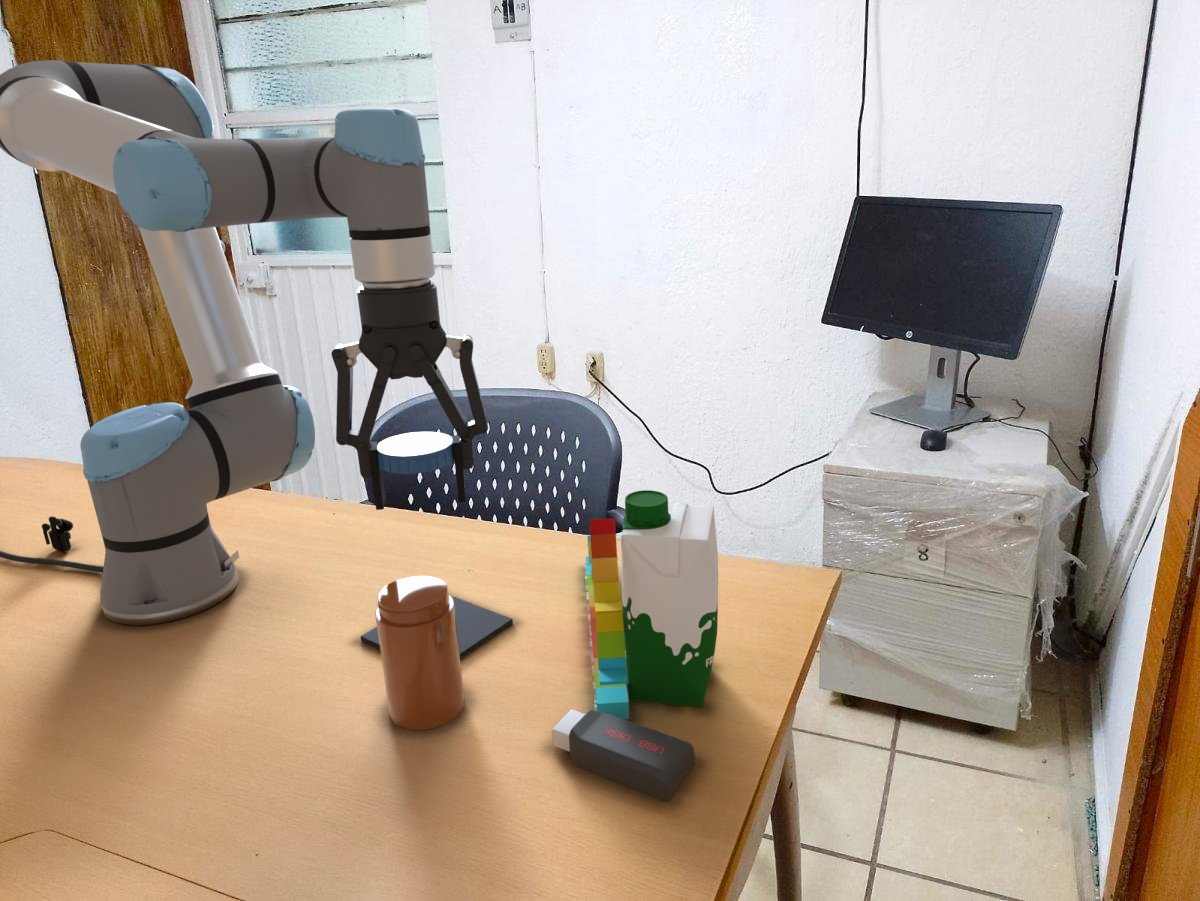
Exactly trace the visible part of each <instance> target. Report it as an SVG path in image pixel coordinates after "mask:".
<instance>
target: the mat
mask: <svg viewBox="0 0 1200 901" xmlns="http://www.w3.org/2000/svg"><path fill="white" fill-rule="evenodd" d="M449 595H450V594H449ZM450 596H451V597H452V598H453V600H454V608H455V617H456V626H457V636H458V645H459V655H460V660H461V659H462V658H464V657H465V656H466V655H468V654H470V653H471V652H472V651H474V650H475V649H477V648H478V647H480V646H481V645H483V644H485V643H486V642H487V641H489V640H490V639H491V638H493V637H495V636H497V635H498V634H499V633H500V632H502V631H503V630H505V629H506V628H508V627H509V626H511V625H512V624H513V623H514V620H513V618H512V617H508V616H506V615H503V614H501V613H498V612H495V611H494V610H490V609H487V608H486V607H485V608H484V607H482V606H480V605H478V604H474V603H471V602H469V601H467V600H464V599H461V598H459V597H456V596H453V595H450ZM360 641H361V642H363V643H365V644H367V645H369V646H372V647H374V648H377V649H378V650H380V644H379V637H378V630H377V626H375V627H374V628H372V629H371V630H369V631H367V632H365V633H363V634H362V635H360Z"/></svg>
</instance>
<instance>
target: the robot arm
mask: <svg viewBox="0 0 1200 901" xmlns="http://www.w3.org/2000/svg"><path fill="white" fill-rule="evenodd" d="M419 125H420V124H419V120H418V118H417V117H416V115H415V114H414V113H413V112H412V111H411V110H408V109H404V108H393V107H391V108H390V107H386V108H385V107H381V108H380V107H379V108H378V107H377V108H376V107H375V108H374V107H373V108H354V109H353V108H352V109H346V110H341V111H339V112H338V113H337V114H336V115H335V118H334V135H333V136H323V137H319V136H318V137H271V138H269V137H265V138H264V137H263V138H215V137H214V135H213V132H214V131H215V128H214V122H213V119H212V116H211V112H210V109H209V108H208V106H207V103H206V101H205V99H204V97H203V95H202V94H201V92H200V91H199V89H198V88H197V87H196V85H195V84H194V83H193V82H192V81H191V80H190V79H189V78H188V77H187V76H185V75H184V74H181V73H180V72H179V71H177V70H175V69H172V68H170V67H169V68H168V67H162V66H161V67H160V66H152V65H150V64H147V63H135V64H122V63H121V64H120V63H103V62H102V63H100V62H99V63H98V62H84V61H83V62H82V61H79V62H78V61H63V60H57V59H56V60H53V59H49V60H33V61H29V62H24V63H21V64H18V65H15V66H13V67H11V68H9V69H6V70H4V72H1V73H0V149H1V150H2V151H3V152H4V153H6V154H7V155H8V156H10V157H11V158H13V159H15V160H16V161H18V162H20V163H22V164H24V165H26V166H29V167H30V168H34V169H36V170H39V171H43V172H52V173H53V172H55V173H56V172H65V173H68V174H70V175H72V176H74V177H76V178H79V179H81V180H83V181H86V182H88V183H90V184H93V185H96V187H99V188H102V189H105V190H106V191H108V192H111V193H113V194H116V196H117V198H118V201H119V204H120V206H121V208H122V210H123V211H124V212H125V214H127V215H129V216H128V217H129V218H130V220H131V222H132V223H133V224H134V225H135V226H137V228H138V230H139V233H140V236H141V239H142V242H143V244H144V247H145V250H146V253H147V255H148V258H149V261H150V264H151V266H152V270H153V272H154V275H155V277H156V281H157V283H158V286H159V289H160V292H161V295H162V298H163V300H164V303H165V306H166V308H167V309H166V310H167V312H168V315H169V317H170V320H171V323H172V326H173V328H174V331H175V334H176V336H177V340H178V342H179V345H180V348H181V351H182V354H183V356H184V360H185V362H186V365H187V368H188V370H189V372H190V376H191V378H192V383H191V386H190V388H189V390H188V391H187V394H186V395H185V402H186V403H187V406H188V409H189V410H187V409H186V407H185V406H183V405H182V404H180V403H177V402H168V401H167V402H154V403H151V404H149V405H145V404H143V405H139V406H135V407H131V408H127V409H125V410H121V411H118V412H116V413H114V414H111V415H109V416H107V417H105V418H103V419H101V420H99V421H98V422H97V421H96V423H94V424H93V425H91V426H90V428H88V429H87V430H86V432H84V434H83V435H82V437H81V439H80V444H79V447H80V453H81V459H82V466H83V468H82V469H83V470H82V472H83V476H84V478H85V480H86V481H87V484H88V485H87V486H88V488H89V492H90V496H91V499H92V503H93V507H94V510H95V515H96V519H97V522H98V526H99V530H100V534H101V537H102V541H103V546H104V549H105V552H104V554H105V555H104V561H103V565H97V564H89V563H84V562H83V563H82V562H78V561H72V560H71V561H70V560H64V559H63V560H62V559H54V558H45V557H30V556H22V555H17V554H13V553H10V552H6V551H3V550H0V558H2V559H5V560H10V561H14V562H19V563H24V564H25V563H26V564H32V565H33V564H35V565H47V566H58V567H64V568H72V569H76V570H77V569H78V570H84V571H90V572H97V573H102V578H101V585H100V592H99V595H100V605H101V609H102V611H103V614H104V616H105V617H106V619H109V620H110V621H112V622H114V623H118V624H122V625H130V626H141V625H142V626H145V625H154V624H155V625H156V624H162V623H168V622H172V621H177V620H180V619H183V618H187V617H189V616H192V615H195V614H198V613H200V612H203V611H205V610H207V609H209V608H211V607H213V606H214V605H216V604H218V603H220V602H221V601H223V600H224V599H226V598H227V597H228V596H229V595H230V594H231V593H232V592H233V591H234V590H235V588H236V587H237V584H238V582H239V577H238V572H237V568H236V565H235V562H236V561H238V559H240V554H239V550H235V551H234V553H232V554H231V555H230V554H229V552H228V551H227V550H226V547H225V546H224V544H223V543H222V542H221V540H220V539H219V537H218V535H217V534H216V532H215V531H214V528H213V527H212V525H211V521H210V516H209V511H208V505H207V504H209V503H210V502H213V501H216V500H220V499H223V498H226V497H229V496H232V495H235V494H239V493H241V492H244V491H248V490H250V489H252V488H256V487H259V486H262V485H265V484H268V483H272V482H276V481H277V482H278V481H280V480H282V479H283V478H284V477H287V476H289V475H290V476H291V475H292V474H295V473H297V472H299V471H301V470H302V469H304V468H305V467H306V465H307V464H308V463H309V461H310V460H311V458H312V455H313V450H314V448H315V443H316V428H315V422H314V416H313V413H312V409H311V407H310V404H309V402H308V401H307V399H306V398H305V397H303V394H302V392H301V391H300V390H299V389H298V388H296V387H294V386H290V385H285V384H284V385H283V382H282V380H281V378H280V374H279V372H278V371H277V370H275V369H272V368H270V367H269V366H267V365H266V364H264V363H263V362H262V359H261V356H260V353H259V350H258V348H257V345H256V341H255V338H254V336H253V333H252V330H251V326H250V324H249V321H248V318H247V315H246V312H245V309H244V306H243V304H242V301H241V298H240V296H239V292H238V290H237V286H236V283H235V281H234V277H233V275H232V272H231V269H230V266H229V263H228V261H227V257H226V255H225V252H224V249H223V246H222V243H221V240H220V237H219V234H218V232H217V228H219V227H229V226H230V227H231V226H239V225H251V224H262V223H263V224H264V223H275V222H276V223H277V222H288V221H299V220H309V219H310V220H311V219H323V218H325V219H326V218H346V219H347V225H348V226H347V228H348V234H349V245H350V252H351V258H352V266H353V273H354V280H356V281H357V282H359V283H361V284H362V285H361V286H359V287H358V290H356V296H357V303H358V310H359V319H360V327H361V334H360V337H359V339H358V341H355V342H351V343H347V344H345V343H343V342H342V343H340V342H339V343H337V344H336V345H335V346H334V348H333V349H332V351H331V358H332V361H333V364H334V367H335V369H336V373H337V374H336V376H337V380H336V388H337V389H336V423H335V424H336V425H335V426H336V427H335V428H336V430H335V441H336V443H337V444H338V445H339V446H349V447H353V448H354V449H355V450H356V452H357V460H358V467H359V474H360V476H361V477H362V479H368V478H369V479H371V482H372V490H373V496H374V504H375V505H374V506H375V510H376V511H381V510H382V511H383V510H384V509H385V505H386V501H387V496H386V491H385V490H386V488H385V483H384V482H385V481H384V475H383V470H382V469H381V468H379V463H378V455H377V445H378V444H379V441H371V438H372V434H373V431H374V428H375V424H376V421H377V417H378V415H379V411H380V407H381V405H382V401H383V398H384V395H385V391H386V388H387V385H388V381H389V380H401V379H403V378H406V377H408V378H412V379H413V378H414V379H417V378H419V379H420V378H423V377H424V379H425V381H426V383H427V385H428V386H429V387H430V389H431V390H432V393H433V394H434V395H435V397H436V399H437V401H438V403H439V405H440V407H441V408H442V409H443V412H444V413H445V415H446V417H447V419H448V420H449V422H450V424H451V425H452V427H453V429H454V431H455V433H456V434H453V435H452V438H453V451H454V461H453V462H454V468H455V470H454V471H455V478H456V479H455V480H456V489H457V498H458V500H457V501H458V503H466V502H467V490H466V489H467V488H466V481H465V480H466V479H465V470H471V469H473V468H474V465H475V461H474V449H473V439H474V438H475V437H476V436H479V435H481V434H482V435H484V434H486V433H487V432H488V431H489V422H488V417H487V413H486V410H485V406H484V402H483V398H482V394H481V390H480V387H479V382H478V378H477V374H476V370H475V366H474V362H473V352H474V339H473V337H472V336H471V335H469V334H464V335H463V336H456V335H448V334H447V333H446V331H445V330H444V329H443V327H442V324H441V317H440V308H439V297H438V289H437V288H438V287H437V284H435V282H433V281H432V280H431V278H433V277H434V276H435V274H436V269H435V260H434V259H435V258H434V247H433V239H432V238H433V236H432V233H431V221H430V220H431V219H430V211H429V200H428V189H427V178H426V168H425V167H426V166H425V161H426V155H425V154H424V148H423V144H422V137H421V132H420V126H419ZM445 348H449V350H450V352H451V355H452V357H453V358H454V359H456V360H459V369H460V373H461V376H462V380H463V384H464V388H465V392H466V395H467V399H468V403H469V407H470V410H471V414H472V415H471V416H472V418H473V420H470V421H469V422H468V419H467V417H466V416H465V415H464V413H463V411H462V409H461V406H460V405H459V403H458V402H457V400H456V398H455V396H454V395H453V393H452V390H451V389H450V387H449V386H448V383H447V382H446V380H445V379H444V377H443V374H442V372H441V370H440V368H439V366H438V365H437V361H438V359H439V358H440V356H441V355H442V352H443V351H444V350H445ZM359 354H362V355H363V356H364V357H365V358H366V359H367V360H368V361H369V362H370V363H371V364H372V365H373V366H374V368H376V373H375V377H374V380H373V383H372V388H371V391H370V394H369V397H368V401H367V403H366V407H365V410H364V413H363V417H362V420H361V423H360V427H359V429H358V430H359V431H358V430H354V429H353V400H354V399H353V397H354V396H353V395H354V366H355V365H356V364H357V362H358V360H359V356H358V355H359Z"/></svg>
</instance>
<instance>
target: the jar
mask: <svg viewBox="0 0 1200 901" xmlns="http://www.w3.org/2000/svg"><path fill="white" fill-rule="evenodd" d="M451 596H452V595H451ZM451 596H450V594H449V586H448V584H447V582H445V580H443V579H442V578H439V577H437V576H431V575H412V576H407V577H402V578H399V579H396V580H393V581H392V582H390V583H388V584H387V585H385V586H383V587H382V588H381V589H380V590H379V592H378V594H377V600H376V605H377V607H376V609H375V612H374V616H375V624H376V627H377V630H378V637H379V644H380V649H379V651H380V657H381V665H382V671H383V679H384V685H385V691H386V698H387V706H388V714H389V717H390V719H391V721H392V722H393V723H394V724H395V725H397V727H401V728H403V729H406V730H411V731H425V730H431V729H435V728H438V727H441V726H443V725H446V724H448V723H450V722H451V721H453V720H455V718H457V717H458V716H459V715H460V713H461V712H462V711H463V708H464V707H465V692H464V683H463V674H462V666H461V665H462V664H461V659H460V655H459V645H458V636H457V626H456V617H455V608H454V600H453V598H452V597H451Z"/></svg>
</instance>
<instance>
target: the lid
mask: <svg viewBox="0 0 1200 901" xmlns="http://www.w3.org/2000/svg"><path fill="white" fill-rule="evenodd" d="M377 455H378V463H379V468H381V469H382V471H384V472H387V473H390V474H398V475H415V474H423V473H430V472H432V471H433V472H434V471H436V470H440V469H443V468H445V467H447V466H449V465H451V464H452V463H453V462H455V461H454V451H453V436H451V435H449V434H447V433H444V432H438V431H413V432H406V433H400V434H398V435H393V436H390V437H387V438H385V439H383V440H382V441H380V442H378V445H377Z"/></svg>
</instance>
